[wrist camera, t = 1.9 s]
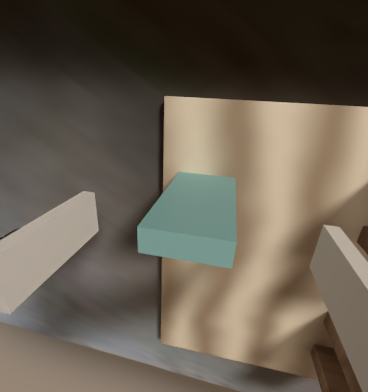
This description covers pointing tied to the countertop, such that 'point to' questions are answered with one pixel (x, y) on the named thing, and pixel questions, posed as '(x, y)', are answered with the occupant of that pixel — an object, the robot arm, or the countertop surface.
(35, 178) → the countertop surface
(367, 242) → the domino
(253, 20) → the countertop surface
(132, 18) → the countertop surface
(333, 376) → the domino
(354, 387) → the domino
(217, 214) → the domino
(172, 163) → the birch board
